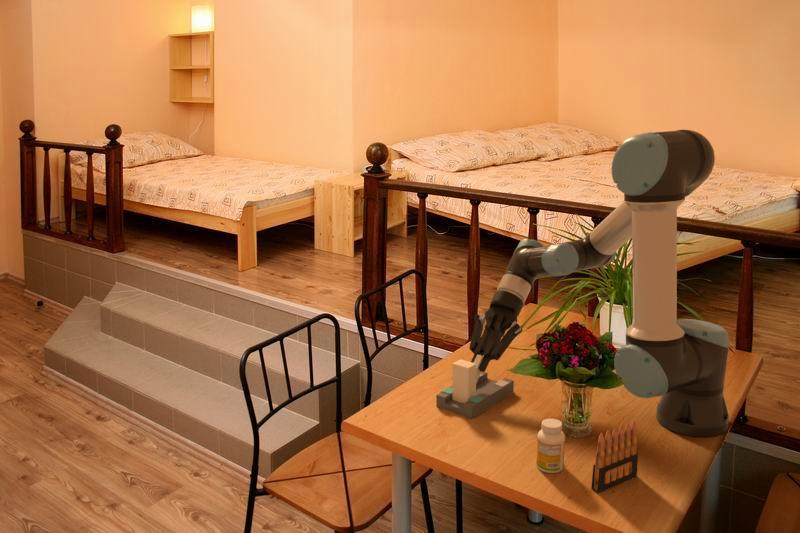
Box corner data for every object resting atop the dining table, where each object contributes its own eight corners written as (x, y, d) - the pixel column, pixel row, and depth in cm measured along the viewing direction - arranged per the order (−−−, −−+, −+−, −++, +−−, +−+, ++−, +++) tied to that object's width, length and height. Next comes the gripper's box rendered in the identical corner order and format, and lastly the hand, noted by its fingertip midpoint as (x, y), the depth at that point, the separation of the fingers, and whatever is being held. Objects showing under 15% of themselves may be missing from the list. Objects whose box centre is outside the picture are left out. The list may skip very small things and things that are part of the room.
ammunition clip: (629, 472, 152) (634, 417, 149) (637, 476, 150) (641, 420, 147) (590, 488, 146) (594, 431, 143) (598, 493, 145) (601, 435, 142)
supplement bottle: (547, 457, 158) (549, 414, 155) (569, 467, 154) (571, 422, 151) (530, 466, 154) (532, 422, 152) (552, 477, 151) (555, 432, 148)
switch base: (479, 381, 194) (479, 369, 193) (513, 391, 188) (513, 379, 187) (436, 406, 181) (436, 393, 180) (471, 418, 175) (471, 405, 174)
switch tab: (460, 395, 183) (460, 359, 180) (475, 400, 180) (476, 363, 178) (452, 399, 180) (452, 363, 178) (467, 404, 178) (468, 368, 175)
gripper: (538, 309, 188) (500, 395, 180) (493, 299, 196) (454, 381, 188) (528, 294, 183) (488, 382, 175) (482, 284, 191) (441, 368, 183)
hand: (470, 381), depth 181 cm, fingers closed
